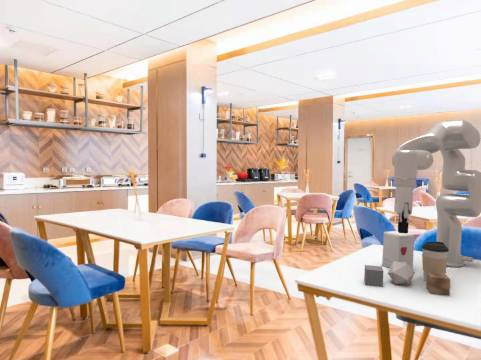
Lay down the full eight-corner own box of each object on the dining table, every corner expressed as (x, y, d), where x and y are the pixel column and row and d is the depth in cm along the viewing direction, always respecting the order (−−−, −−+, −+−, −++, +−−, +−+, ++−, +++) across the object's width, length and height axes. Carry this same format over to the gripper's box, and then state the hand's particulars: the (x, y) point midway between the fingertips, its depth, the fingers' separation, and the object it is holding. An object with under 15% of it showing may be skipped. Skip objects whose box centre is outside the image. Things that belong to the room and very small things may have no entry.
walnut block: (444, 290, 128) (445, 273, 127) (449, 296, 122) (450, 278, 122) (425, 288, 129) (426, 271, 129) (429, 294, 124) (430, 277, 123)
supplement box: (398, 271, 149) (399, 235, 148) (381, 265, 157) (382, 231, 156) (413, 268, 153) (415, 234, 152) (396, 263, 161) (398, 230, 160)
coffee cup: (437, 287, 131) (439, 246, 130) (415, 279, 139) (416, 241, 138) (452, 283, 135) (454, 244, 134) (430, 276, 143) (431, 239, 142)
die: (411, 290, 128) (422, 267, 131) (389, 277, 130) (400, 254, 132) (401, 290, 136) (411, 268, 139) (380, 278, 137) (391, 256, 140)
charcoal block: (381, 282, 135) (381, 266, 135) (382, 287, 130) (383, 271, 129) (364, 280, 137) (364, 264, 137) (365, 285, 131) (365, 269, 131)
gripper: (391, 182, 141) (389, 228, 142) (397, 184, 126) (394, 236, 127) (412, 182, 139) (409, 229, 140) (420, 185, 124) (418, 237, 125)
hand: (402, 232), depth 133 cm, fingers closed
